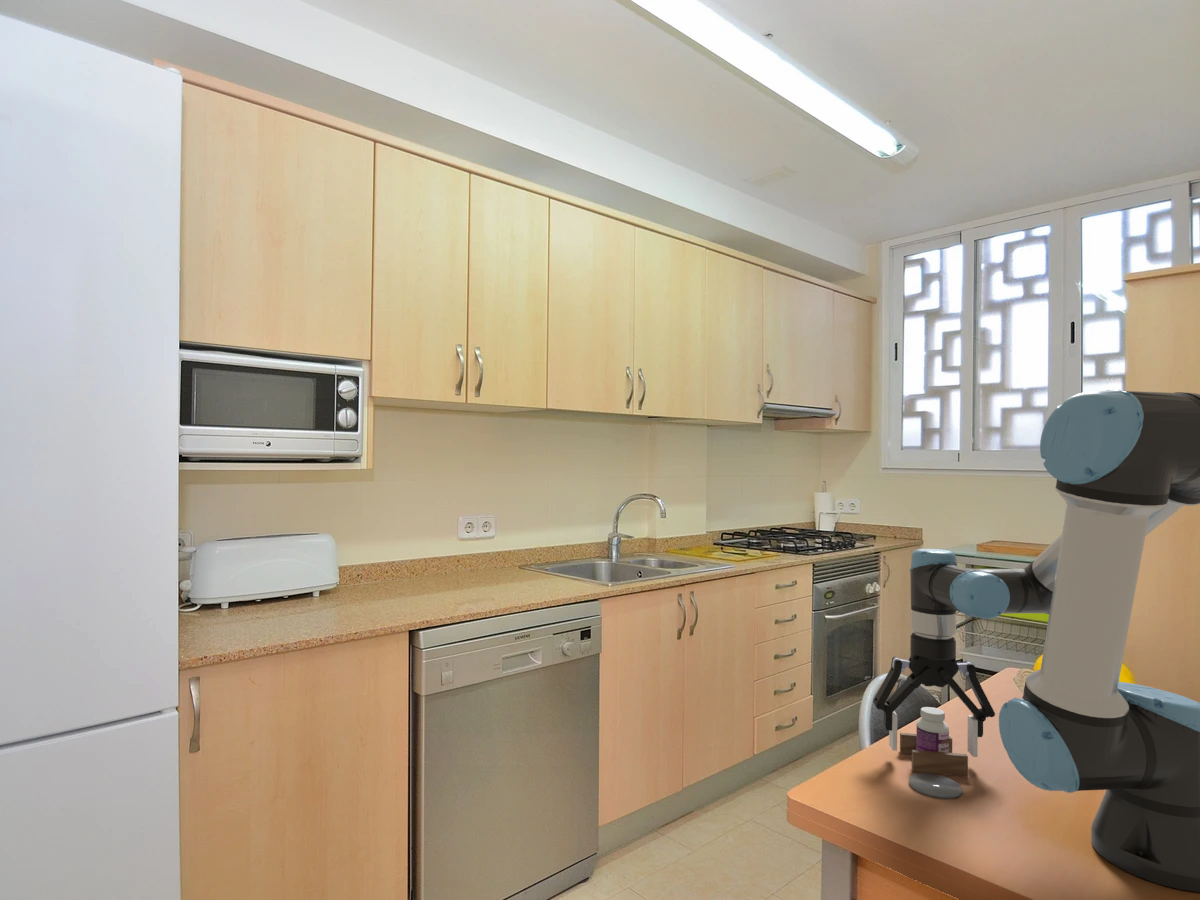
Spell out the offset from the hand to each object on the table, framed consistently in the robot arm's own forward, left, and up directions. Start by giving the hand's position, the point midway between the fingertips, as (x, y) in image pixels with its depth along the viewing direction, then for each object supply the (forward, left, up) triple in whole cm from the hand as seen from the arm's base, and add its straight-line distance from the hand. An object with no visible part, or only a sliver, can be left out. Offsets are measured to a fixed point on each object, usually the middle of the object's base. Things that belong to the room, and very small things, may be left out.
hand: (932, 751), depth 125 cm
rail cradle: (0, 0, -2) cm, 2 cm away
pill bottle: (0, 0, -2) cm, 2 cm away
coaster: (-10, +2, -2) cm, 11 cm away
